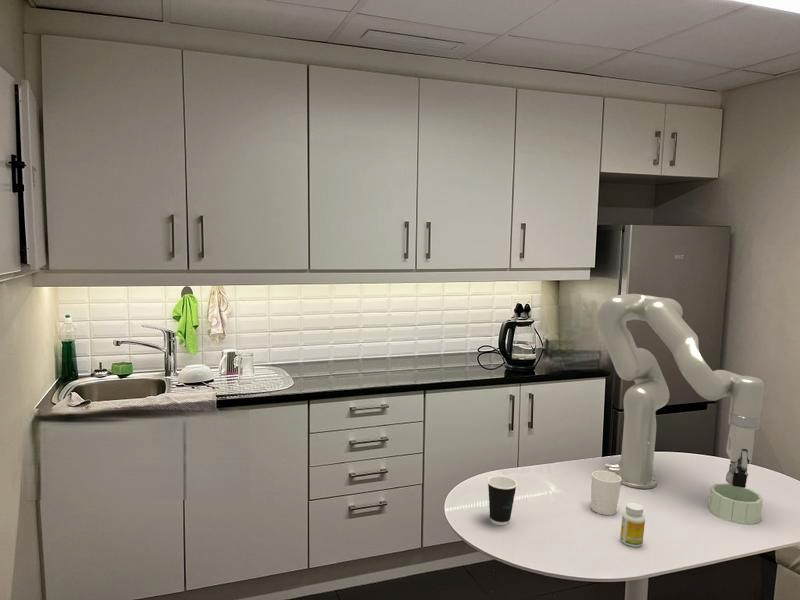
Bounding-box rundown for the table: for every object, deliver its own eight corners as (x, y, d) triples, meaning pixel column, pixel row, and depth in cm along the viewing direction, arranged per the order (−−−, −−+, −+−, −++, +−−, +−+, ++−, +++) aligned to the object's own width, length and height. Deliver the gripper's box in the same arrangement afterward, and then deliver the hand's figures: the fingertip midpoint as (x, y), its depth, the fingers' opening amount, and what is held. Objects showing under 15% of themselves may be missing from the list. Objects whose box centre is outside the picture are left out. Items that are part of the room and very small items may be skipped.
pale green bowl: (712, 518, 166) (714, 497, 166) (706, 500, 178) (708, 480, 178) (764, 527, 162) (766, 506, 162) (754, 508, 174) (756, 488, 173)
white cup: (619, 507, 171) (622, 474, 170) (617, 519, 164) (620, 484, 163) (590, 501, 174) (593, 468, 173) (587, 512, 167) (590, 478, 166)
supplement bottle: (615, 539, 153) (618, 503, 152) (630, 535, 155) (634, 499, 154) (631, 549, 148) (635, 512, 147) (647, 545, 150) (650, 509, 149)
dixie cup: (512, 530, 155) (515, 490, 154) (482, 525, 157) (484, 485, 156) (516, 517, 162) (519, 478, 161) (487, 512, 165) (489, 473, 163)
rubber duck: (719, 482, 171) (722, 455, 170) (738, 480, 173) (741, 454, 172) (734, 490, 166) (737, 462, 165) (753, 488, 168) (756, 461, 167)
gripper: (723, 410, 176) (717, 469, 179) (734, 427, 160) (727, 491, 163) (752, 414, 174) (745, 473, 176) (766, 431, 158) (758, 497, 160)
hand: (736, 481), depth 169 cm, fingers closed on rubber duck, 5 cm apart
